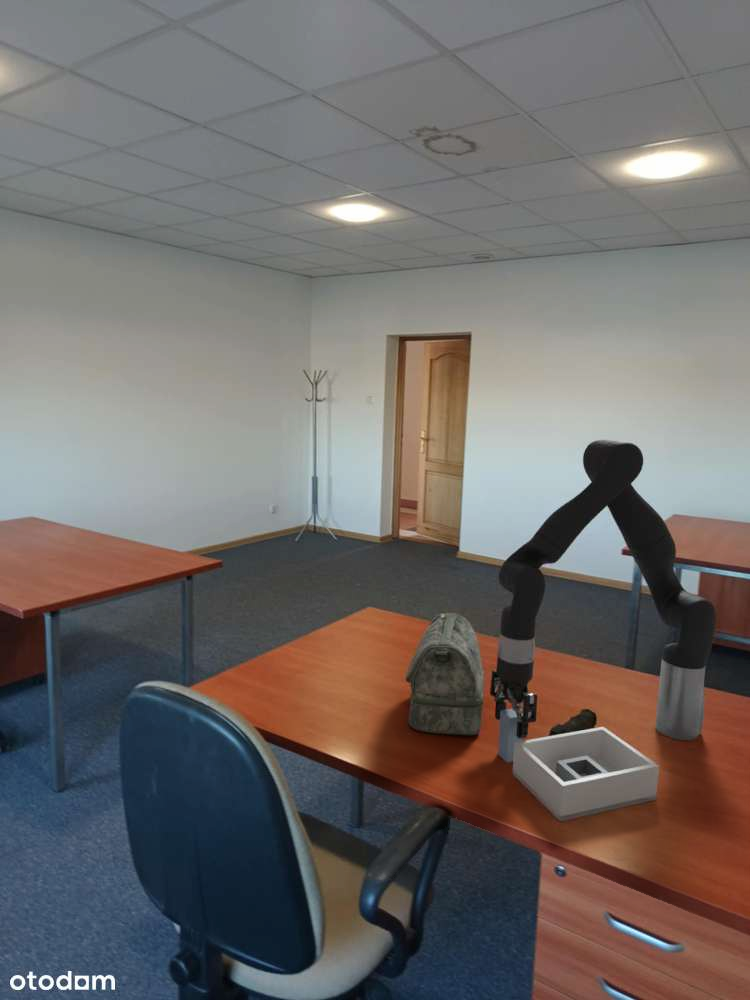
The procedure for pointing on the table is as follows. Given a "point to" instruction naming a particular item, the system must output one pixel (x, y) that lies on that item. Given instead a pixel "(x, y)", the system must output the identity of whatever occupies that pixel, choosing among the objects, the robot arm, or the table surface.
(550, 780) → the walled box
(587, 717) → the hand tool
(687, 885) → the table surface
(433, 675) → the lunch bag
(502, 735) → the plug
